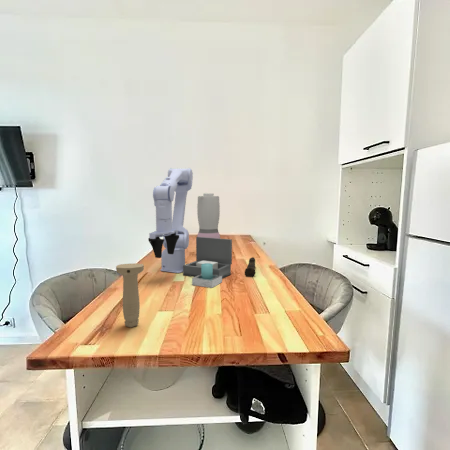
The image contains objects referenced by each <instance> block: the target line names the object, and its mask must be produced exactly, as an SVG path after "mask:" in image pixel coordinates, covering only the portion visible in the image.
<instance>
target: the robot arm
mask: <svg viewBox="0 0 450 450" xmlns="http://www.w3.org/2000/svg"><path fill="white" fill-rule="evenodd" d="M193 175H194V173H193V170H192V168H191V167H188V168H186V167H185V168H178V167H177V168H172V167H170V168H168V171H167V176H166V177H165V178H164V180H162V182H161V183H160V185H156V186H154V188H153V191H152V198H153V202H154V203H153V204H154V207H155V231H152V232H149V234H148V235H149V236H148V242H149V244H150V246H151V247H152V250H153V253H154V258H155V259H161V263H160V264H161V269H159V270H160V271H161V272H166V273H167V272H168V273H173V274H174V273H176V274H180V273H183V265H186V250H187V249H188V247H189V245H190V244H189V243H190V238H189V237H190V233H189V231H188V229H187V228H185V226H184V223H185V222H184V221H185V214H186V205H187V202H186V201H187V195H188V192H189V191H191V189H192V186H193V178H194V177H193ZM173 201H174V203H173V204H174V206H172V205H173V204H172V202H173ZM163 248H164V249H163Z"/></svg>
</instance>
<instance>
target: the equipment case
mask: <svg viewBox="0 0 450 450" xmlns="http://www.w3.org/2000/svg"><path fill="white" fill-rule="evenodd" d="M195 241H196V243H195V244H196V245H195V246H196V247H195V251H196V253H195V255H196V257H195V258H196V260H195V261H194V260H193V261H192V262H189V263H185V265H183V272H182V274H183V275H182V276H186V277H192V278H193V277H196V276H198V275H200V274H201V264H204V263H210V264H213V274H214V275H222V280H223V279H225V278H227V277H228V276H230V275H231V274H232V273H231V271H232V270H231V269H232V265H233V262H232V261H233V239H230V238H220V239H219V238H206V237H197V236H196V237H195Z"/></svg>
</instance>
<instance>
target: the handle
mask: <svg viewBox="0 0 450 450" xmlns="http://www.w3.org/2000/svg"><path fill="white" fill-rule="evenodd" d="M144 268H145V265H144V264H143V263H136V262H135V263H122V264H120V263H119V264H117V265H116V266H115V270H116V273H117V274H120V275H121V276H122V279H123V282H122V314H123V318H124V325H125V327H128V328H134V327H137V326H138V324H139V317H140V304H141V303H140V293H139V283H138V280H139V279H138V277H139V276H138V275H139V274H141V273H142V272H144V270H145V269H144Z"/></svg>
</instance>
